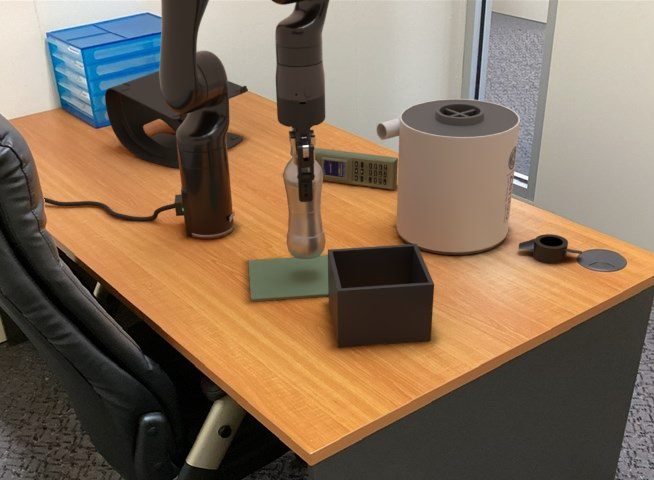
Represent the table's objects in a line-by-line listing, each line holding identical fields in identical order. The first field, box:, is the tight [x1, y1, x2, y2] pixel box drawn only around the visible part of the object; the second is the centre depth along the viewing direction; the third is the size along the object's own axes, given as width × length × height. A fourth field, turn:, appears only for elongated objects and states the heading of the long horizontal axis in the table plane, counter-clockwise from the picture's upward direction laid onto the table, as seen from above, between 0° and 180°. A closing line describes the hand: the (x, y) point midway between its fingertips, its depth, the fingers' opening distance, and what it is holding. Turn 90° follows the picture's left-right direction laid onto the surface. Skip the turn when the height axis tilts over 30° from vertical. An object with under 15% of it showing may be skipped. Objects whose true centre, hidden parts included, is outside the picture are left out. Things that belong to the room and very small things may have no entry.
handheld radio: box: [314, 147, 399, 191], centre depth 182 cm, size 7×3×25 cm
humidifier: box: [375, 98, 521, 256], centre depth 155 cm, size 22×21×23 cm
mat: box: [247, 254, 328, 302], centre depth 148 cm, size 20×14×1 cm
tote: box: [327, 243, 435, 348], centre depth 133 cm, size 14×13×10 cm
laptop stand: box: [104, 70, 249, 169], centre depth 201 cm, size 26×24×16 cm
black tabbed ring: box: [518, 233, 583, 265], centre depth 152 cm, size 8×10×3 cm
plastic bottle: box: [282, 146, 326, 259], centre depth 140 cm, size 6×7×20 cm
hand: (304, 192), depth 139 cm, fingers closed on plastic bottle, 6 cm apart
